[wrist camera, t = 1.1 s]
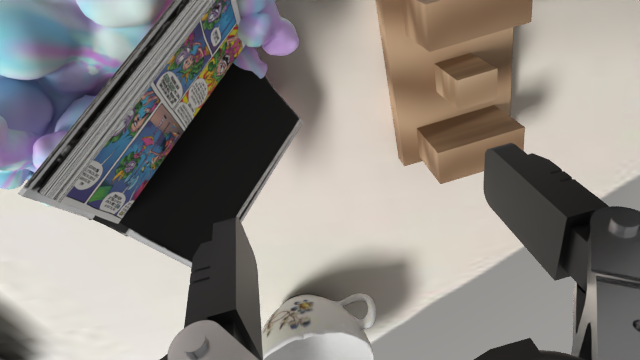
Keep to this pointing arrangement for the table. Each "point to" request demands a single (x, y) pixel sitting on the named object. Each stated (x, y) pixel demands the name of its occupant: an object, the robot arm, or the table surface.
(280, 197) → the table surface
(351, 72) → the table surface
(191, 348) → the robot arm
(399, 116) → the stand
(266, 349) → the teacup
